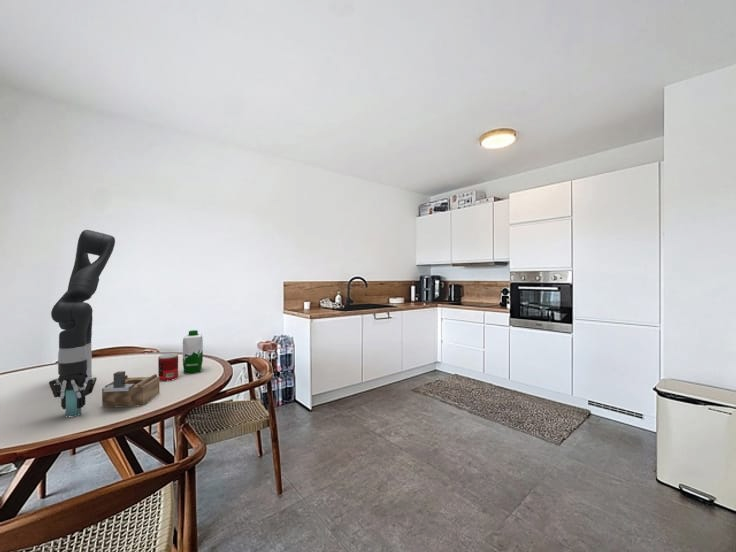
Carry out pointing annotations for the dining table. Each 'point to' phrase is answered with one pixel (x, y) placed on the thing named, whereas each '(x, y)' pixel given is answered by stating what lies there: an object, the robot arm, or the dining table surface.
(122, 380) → the latch bar
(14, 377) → the dining table surface
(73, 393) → the dowel
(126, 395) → the socket block
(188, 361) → the milk carton
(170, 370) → the canned food
